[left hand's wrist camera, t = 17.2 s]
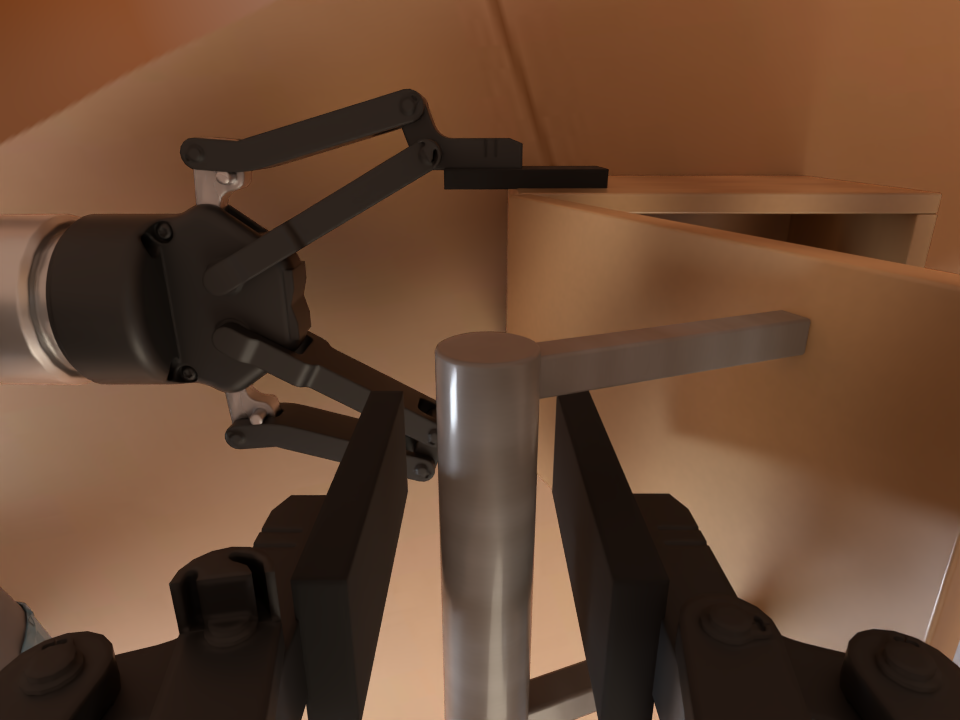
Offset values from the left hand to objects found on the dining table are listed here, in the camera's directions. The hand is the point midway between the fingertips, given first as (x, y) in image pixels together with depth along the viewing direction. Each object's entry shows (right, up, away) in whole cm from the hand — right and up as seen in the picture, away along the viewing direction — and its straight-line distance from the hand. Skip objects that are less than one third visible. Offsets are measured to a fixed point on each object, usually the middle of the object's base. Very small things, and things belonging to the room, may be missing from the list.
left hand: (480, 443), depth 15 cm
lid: (+5, +1, +2) cm, 5 cm away
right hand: (+5, +5, +13) cm, 15 cm away
